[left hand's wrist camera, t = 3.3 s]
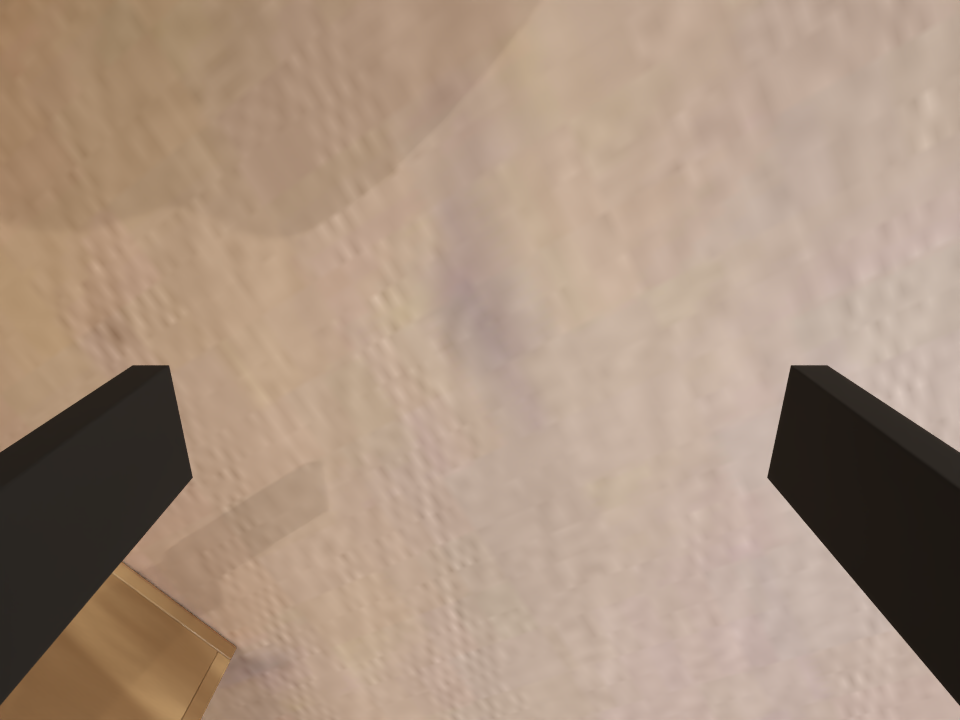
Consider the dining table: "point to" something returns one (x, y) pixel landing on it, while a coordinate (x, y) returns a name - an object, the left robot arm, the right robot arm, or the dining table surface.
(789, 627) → the dining table surface
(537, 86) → the dining table surface
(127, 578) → the chest
